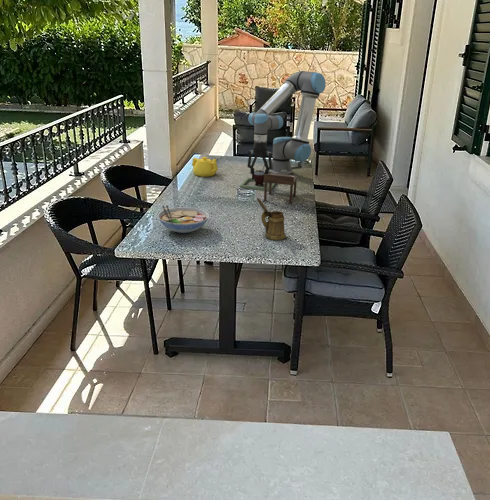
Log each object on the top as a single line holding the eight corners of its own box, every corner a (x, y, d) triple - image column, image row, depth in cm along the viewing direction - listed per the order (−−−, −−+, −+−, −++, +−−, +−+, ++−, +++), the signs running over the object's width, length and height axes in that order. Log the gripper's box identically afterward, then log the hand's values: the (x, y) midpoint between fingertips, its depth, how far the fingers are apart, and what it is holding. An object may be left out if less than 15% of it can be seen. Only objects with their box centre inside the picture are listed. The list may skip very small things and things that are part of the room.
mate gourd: (250, 184, 302) (251, 159, 296) (260, 181, 308) (260, 157, 302) (260, 186, 298) (260, 161, 292) (269, 184, 303) (269, 159, 297)
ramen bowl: (213, 239, 220) (213, 221, 217) (160, 242, 214) (159, 224, 211) (204, 219, 242) (204, 203, 239) (155, 222, 236) (154, 205, 233)
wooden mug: (254, 232, 230) (256, 194, 223) (284, 233, 231) (286, 195, 224) (255, 240, 222) (257, 200, 215) (286, 240, 223) (288, 201, 216)
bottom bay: (247, 180, 312) (247, 177, 312) (276, 182, 309) (276, 180, 309) (240, 187, 296) (240, 185, 295) (270, 190, 293) (270, 188, 292)
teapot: (228, 173, 324) (228, 156, 319) (210, 179, 309) (210, 161, 305) (203, 168, 333) (203, 151, 329) (185, 173, 319) (184, 156, 315)
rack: (268, 193, 289) (270, 167, 283) (296, 196, 286) (298, 170, 280) (263, 201, 274) (264, 174, 268) (292, 204, 271) (293, 177, 266)
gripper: (242, 141, 291) (241, 180, 300) (276, 144, 287) (274, 183, 297) (245, 138, 297) (244, 176, 307) (278, 141, 294) (276, 179, 303)
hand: (259, 179), depth 302 cm, fingers closed on mate gourd, 7 cm apart
